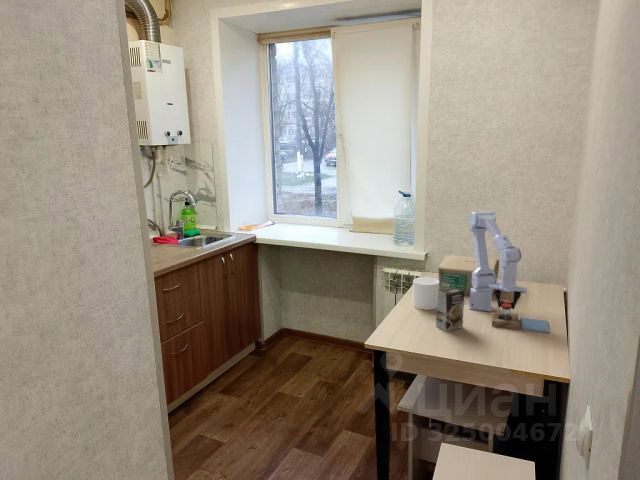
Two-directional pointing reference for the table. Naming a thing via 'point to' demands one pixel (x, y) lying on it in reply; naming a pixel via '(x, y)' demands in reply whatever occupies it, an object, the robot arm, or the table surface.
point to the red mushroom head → (506, 308)
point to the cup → (425, 293)
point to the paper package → (461, 272)
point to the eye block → (505, 321)
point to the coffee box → (450, 308)
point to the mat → (535, 325)
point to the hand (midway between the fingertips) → (506, 307)
